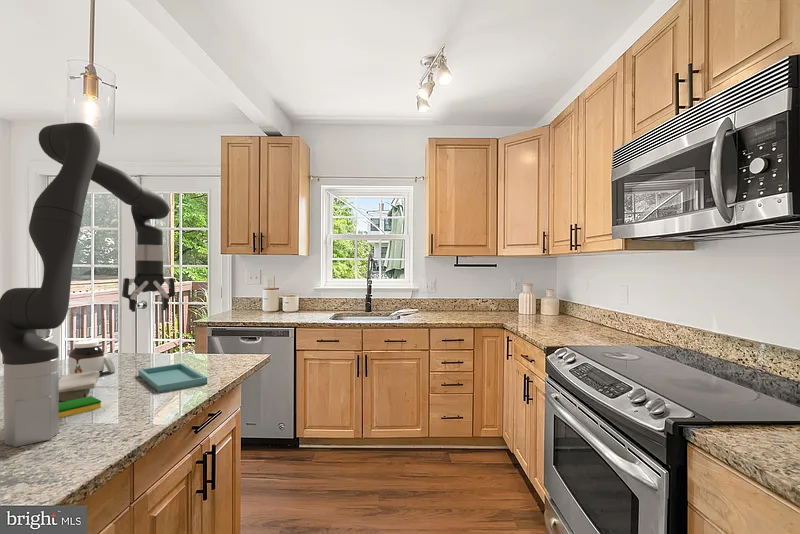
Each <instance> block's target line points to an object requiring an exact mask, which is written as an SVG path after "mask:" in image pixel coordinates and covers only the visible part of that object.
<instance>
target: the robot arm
mask: <svg viewBox="0 0 800 534" xmlns="http://www.w3.org/2000/svg"><path fill="white" fill-rule="evenodd" d="M100 140H101V139H100V136H99V135H98V132H97V131H96V129H95V128H94V127H93V126H92V125H90V124H88V123H85V122H67V123H54V124H52V125H47V126H44V127H43V128H41V130H40V131H39V133H38V142H39V146H40V148H41V149H42V151H43V152H44V154H46V155H47V156H48V158H50V159H52V160H53V161H55V162H57V163H59V164H60V165H62V166H61V169H60V170H59V172H58V174H57V175H56V176H55V177H54V178H53V180H51V181H50V183H49V184H48V185H47V186H46V187H45V188H44V190H43V191H42V192H40V194H39V196H38V197H37V199H36V200H35V202H34V205H33V207H32V212H31V216H30V220H29V223H28V224H29V225H28V231H29V236H30V238H31V242H32V243H33V245H34V246H35V248H36V250H37V253H38V254H39V257H40V258H41V261H42V263H43V277H42V283H41V286H40V287H14V288H10V289H7V290H6V291H5V292H4V293H3V294H2V295H1V296H0V353H1V355H2V358H3V443H4V444H5V445H7V446H13V448H17V447H22V446H26V445H31V444H35V443H39V442H44V441H45V442H46V441H51V440H52V439H53V437H55V436H56V435H58V434H59V432H60V426H59V425H60V418H59V403H60V400H59V378H60V377H59V376H60V375H59V372H60V371H59V367H60V364H59V363H60V361H59V360H60V359H59V356H60V354H59V351H60V349H59V346H58V345H57V344H55V343H54V342H50V341H49V340H48V341H47V340H45V339H43V338H42V337H40V336H39V335H38V334H37V332H36V330H53V329H57V328H59V327H60V326H61V325H62V324H63V323H64V321H65V320H66V317H67V314H68V311H69V305H70V296H71V285H72V274H73V267H74V266H73V265H74V259H75V254H76V248H77V244H78V239H79V235H80V232H81V231H80V230H81V226H82V221H83V215H84V209H85V203H86V199H87V195H88V192H89V186H90V183H91V181H92V182H94V183H96V184H97V185H99V186H101V187H102V188H103V189H105V190H106V191H108V192H110V193H111V194H112V195H114V196H115V197H116V198H118V199H119V200H120V201H121V202H123V203H124V204H125V205H129V206H130V212H131V215H132V219H133V222H134V226H135V229H136V249H135V277H134V278H129V277H126V278H123V280H122V290H121V292H122V293H121V294H122V295H121V297H122V298H124V299H125V298H126V299H128V309H129V311H131V312H133V313H134V312H136V298H137V296H138V295H139V294H140V293H142V292H144V293H146V292H154V293H155V292H157V293H158V294H159V295H161V297H162V298H161V310H162V311H167V309H168V307H169V299H170V298H171V297H175V295H176V289H175V287H176V286H175V278H173V277H169V278H164V249H163V247H164V246H163V241H164V240H163V230H162V228H161V227H158V226H155V225H154V226H153V225H152V223H151V220H161V219H164V218H167V216H169V214H170V206H169V203H168V201H167V199H165V198H164V197H163V196H161V195H160V194H158V193H157V192H154V191H152V190H151V189H148V188H146V187H144V186H142V185H141V184H140V183H139V182H138V181H137V180H135V179H134V178H133V177H132V176H131V175H129V174H128V173H126V171H125V172H124V171H123V170H121V169H119V168H116V167H114V166H112V165H110V164H108V163H105V162H103V161H101V160H98V159H99V156H100V152H101V141H100ZM133 283H134V285H135V286H136V287H135V289H134V290H133V291H132V292H131V294H129V288H130V286H132V284H133ZM164 283H165V284H166V285H167V286H168V293H167V292H166V290H165V289H164V288H163V287H162V286H163V284H164Z"/></svg>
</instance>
